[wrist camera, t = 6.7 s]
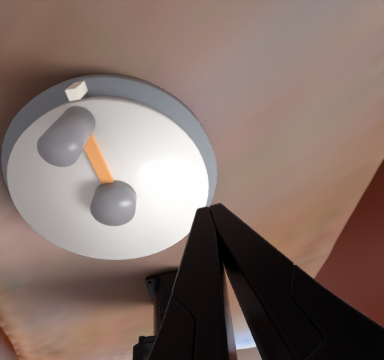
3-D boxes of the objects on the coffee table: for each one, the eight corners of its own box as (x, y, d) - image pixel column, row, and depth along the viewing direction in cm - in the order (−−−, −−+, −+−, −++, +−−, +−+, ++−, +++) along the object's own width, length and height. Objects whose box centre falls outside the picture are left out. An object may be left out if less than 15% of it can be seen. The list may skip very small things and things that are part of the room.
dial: (216, 229, 23) (231, 277, 19) (72, 263, 23) (53, 319, 19) (186, 73, 15) (200, 94, 11) (-34, 125, 15) (-108, 167, 11)
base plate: (219, 225, 25) (228, 251, 22) (65, 255, 25) (53, 286, 22) (203, 55, 16) (214, 63, 13) (-40, 95, 16) (-83, 112, 13)
